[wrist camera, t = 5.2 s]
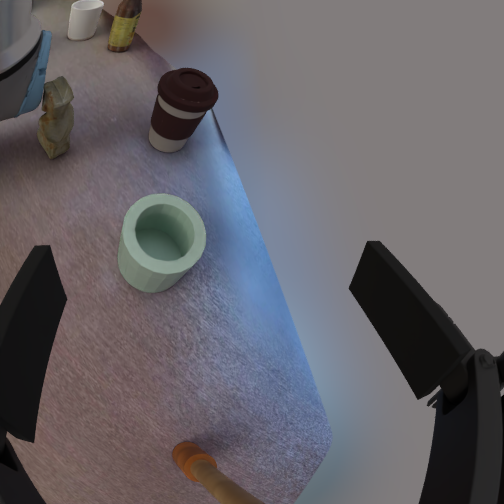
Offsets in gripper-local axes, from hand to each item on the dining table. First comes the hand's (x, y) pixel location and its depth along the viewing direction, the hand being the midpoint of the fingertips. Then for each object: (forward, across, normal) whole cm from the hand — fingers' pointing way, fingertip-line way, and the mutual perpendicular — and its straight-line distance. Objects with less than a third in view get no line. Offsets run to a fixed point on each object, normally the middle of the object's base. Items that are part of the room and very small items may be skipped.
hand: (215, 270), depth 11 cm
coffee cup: (+46, -5, -4) cm, 46 cm away
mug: (+72, -33, +24) cm, 83 cm away
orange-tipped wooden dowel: (+2, -3, -36) cm, 36 cm away
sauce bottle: (+69, -21, +18) cm, 74 cm away
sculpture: (+38, -25, -2) cm, 45 cm away
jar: (+26, -6, -18) cm, 32 cm away
